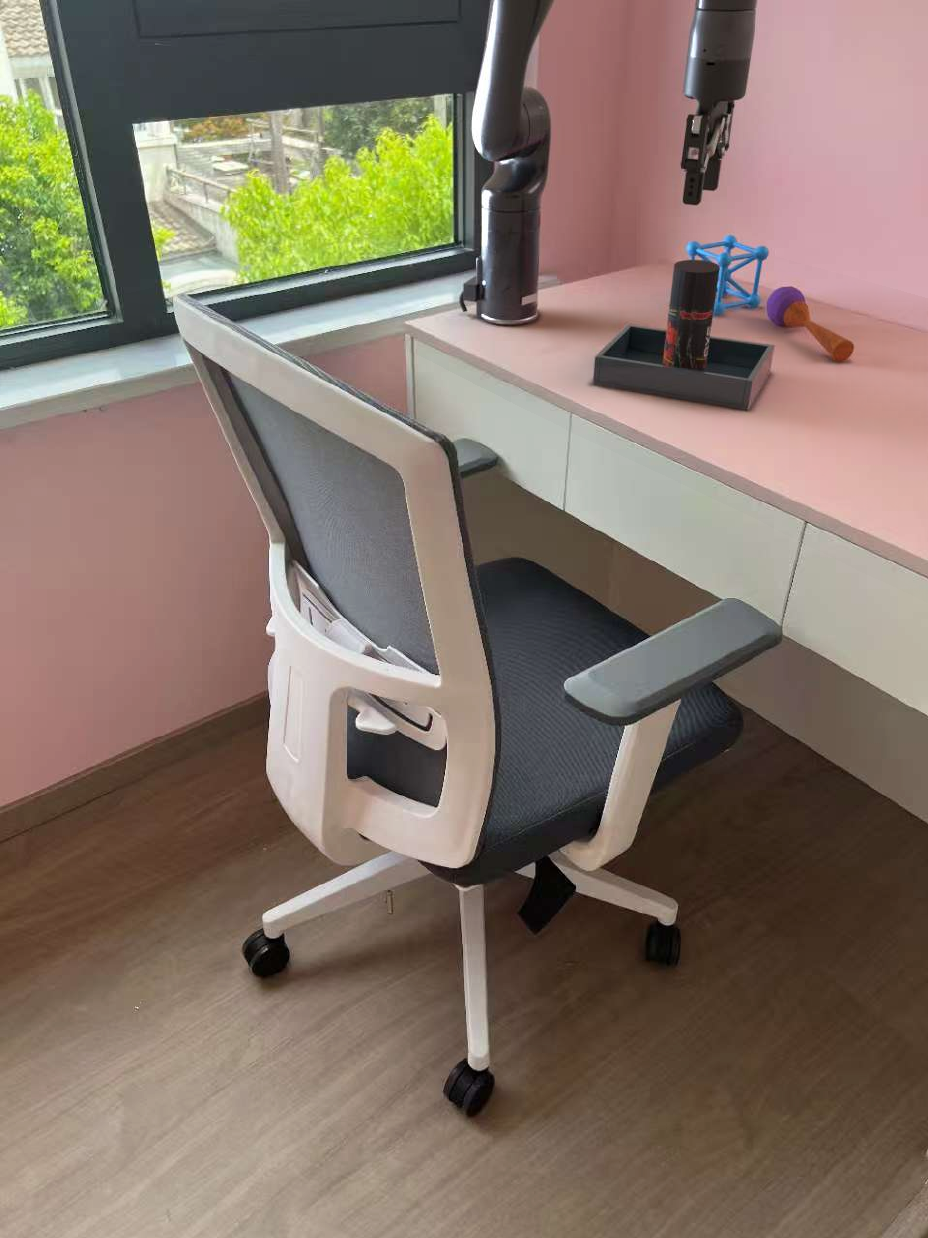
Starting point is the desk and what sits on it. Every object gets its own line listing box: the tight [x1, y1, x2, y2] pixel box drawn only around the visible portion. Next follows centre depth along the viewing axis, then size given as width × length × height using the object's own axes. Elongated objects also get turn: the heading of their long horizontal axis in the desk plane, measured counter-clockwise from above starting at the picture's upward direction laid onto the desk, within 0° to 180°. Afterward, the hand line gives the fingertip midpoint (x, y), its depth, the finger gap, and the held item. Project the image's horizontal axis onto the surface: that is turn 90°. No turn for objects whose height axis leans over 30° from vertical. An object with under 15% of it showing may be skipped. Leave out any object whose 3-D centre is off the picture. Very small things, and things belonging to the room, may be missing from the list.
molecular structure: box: [686, 234, 770, 316], centre depth 163 cm, size 10×10×10 cm
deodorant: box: [663, 259, 721, 372], centre depth 135 cm, size 6×6×15 cm
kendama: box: [765, 285, 855, 363], centre depth 150 cm, size 6×6×20 cm
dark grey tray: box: [592, 324, 776, 411], centre depth 138 cm, size 22×15×4 cm
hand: (700, 196), depth 127 cm, fingers open, 8 cm apart
